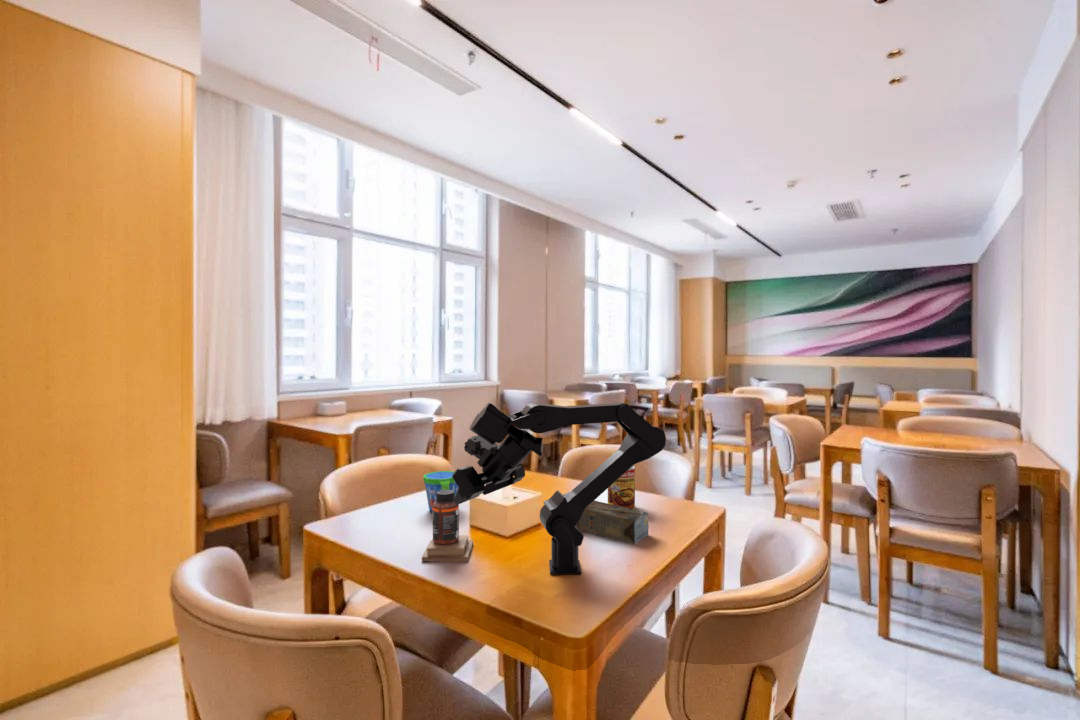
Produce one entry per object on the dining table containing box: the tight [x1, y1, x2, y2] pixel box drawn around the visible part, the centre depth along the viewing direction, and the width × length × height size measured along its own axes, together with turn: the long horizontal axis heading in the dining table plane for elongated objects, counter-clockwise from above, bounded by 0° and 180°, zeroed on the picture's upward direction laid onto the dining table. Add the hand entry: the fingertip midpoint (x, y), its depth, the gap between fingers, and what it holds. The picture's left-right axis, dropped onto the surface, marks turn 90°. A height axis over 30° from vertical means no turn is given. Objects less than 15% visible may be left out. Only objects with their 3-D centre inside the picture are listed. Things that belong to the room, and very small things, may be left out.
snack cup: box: [422, 470, 458, 513], centre depth 150 cm, size 16×10×10 cm
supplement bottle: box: [432, 490, 460, 545], centre depth 119 cm, size 6×6×11 cm
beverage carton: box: [576, 500, 650, 544], centre depth 132 cm, size 8×19×7 cm, turn 53°
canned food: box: [607, 465, 636, 510], centre depth 152 cm, size 8×8×12 cm
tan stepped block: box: [421, 534, 474, 563], centre depth 118 cm, size 10×10×2 cm
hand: (469, 498), depth 114 cm, fingers open, 9 cm apart
